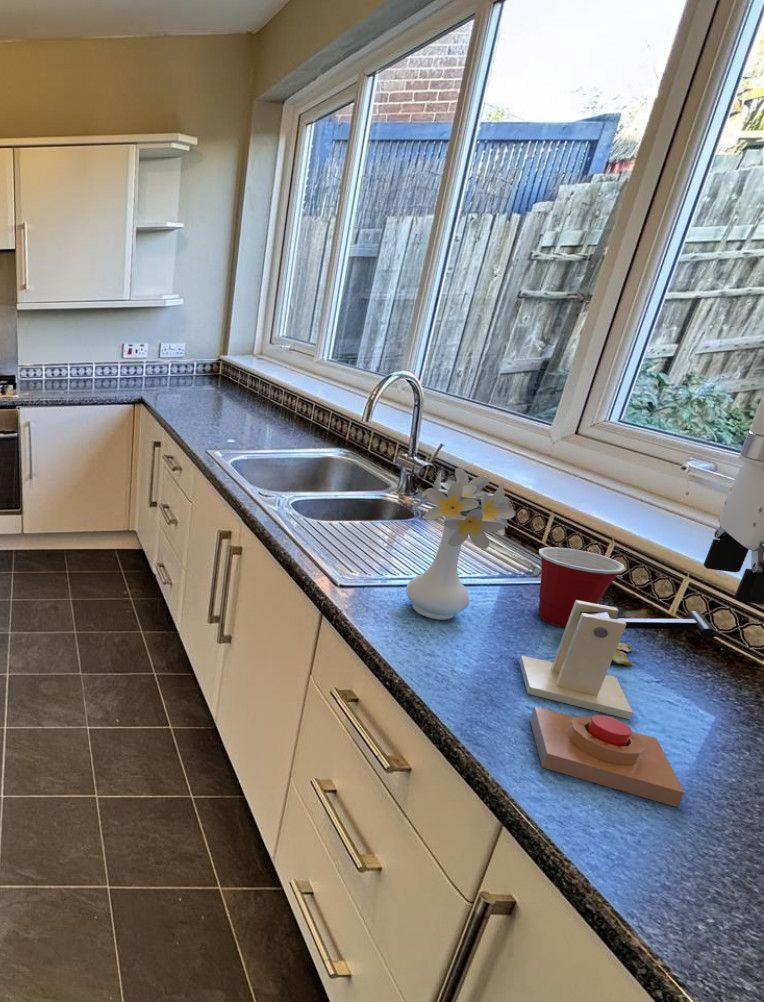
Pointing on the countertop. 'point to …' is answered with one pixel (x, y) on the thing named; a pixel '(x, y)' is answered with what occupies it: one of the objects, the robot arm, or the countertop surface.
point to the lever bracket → (582, 664)
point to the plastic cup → (572, 581)
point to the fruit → (622, 654)
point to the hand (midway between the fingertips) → (736, 585)
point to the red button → (609, 730)
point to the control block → (604, 757)
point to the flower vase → (456, 540)
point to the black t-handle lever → (668, 623)
